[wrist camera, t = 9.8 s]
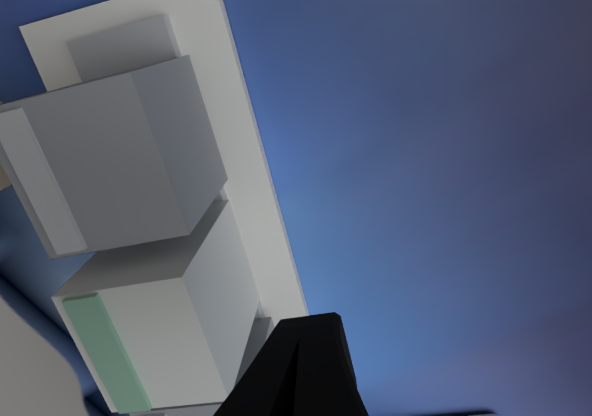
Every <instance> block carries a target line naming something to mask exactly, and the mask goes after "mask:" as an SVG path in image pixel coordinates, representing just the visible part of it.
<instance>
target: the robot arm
mask: <svg viewBox="0 0 592 416" xmlns="http://www.w3.org/2000/svg"><path fill="white" fill-rule="evenodd" d="M213 416H369V415H368V413H367V411H366V409H365V406H364V404H363V402H362V400H361V397H360V395H359V392H358V390H357V384H356V377H355V373H354V369H353V365H352V361H351V357H350V353H349V349H348V344H347V340H346V336H345V332H344V328H343V324H342V320H341V316H340V315H338V314H337V313H335V312H332V313H325V314H317V315H310V316H302V317H295V318H287V319H281V320H280V321H279V322H278V323H277V325H276V326H275V328H274V329H273V331H272V332H271V334H270V335H269V337H268V338H267V340H266V341H265V343H264V345H263V346H262V348H261V349H260V351H259V352H258V354H257V355H256V357H255V358H254V360H253V361H252V363H251V364H250V366H249V367H248V368H247V370H246V371H245V373H244V374H243V376H242V377H241V378H240V380H239V381H238V383H237V384H236V385H235V387H234V388H233V390H232V391H231V393H230V394H229V395H228V397H227V398H226V399H225V401H224V402H223V403H222V404H221V406H220V407H219V408H218V410H217V411H216V412H215V413H214V415H213ZM470 416H498V415H495V414H482V415H470Z"/></svg>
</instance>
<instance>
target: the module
mask: <svg viewBox="0 0 592 416" xmlns="http://www.w3.org/2000/svg"><path fill="white" fill-rule="evenodd" d="M51 298H52V300H53V302H54V304H55V306H56V308H57V310H58V312H59V313H60V315H61V317H62V319H63V321H64V323H65V325H66V327H67V329H68V331H69V332H70V334H71V336H72V338H73V340H74V342H75V344H76V346H77V348H78V350H79V351H80V353H81V355H82V357H83V359H84V361H85V363H86V365H87V367H88V369H89V371H90V372H91V374H92V376H93V378H94V380H95V382H96V384H97V386H98V388H99V390H100V391H101V393H102V395H103V397H104V399H105V401H106V403H107V405H108V407H109V409H110V410H111V412H118V413H119V414H123V413H133V412H143V411H150V410H151V408H162V407H172V406H182V405H192V404H203V403H213V402H223V401H225V399H226V398H227V397H228V395H229V394H230V393H231V391H232V390H233V388H234V384H235V381H236V378H237V374H238V371H239V368H240V364H241V361H242V357H243V354H244V351H245V347H246V344H247V341H248V337H249V334H250V331H251V327H252V324H253V321H254V317H255V314H256V311H257V307H258V304H259V301H260V295H259V292H258V289H257V285H256V282H255V279H254V276H253V273H252V270H251V266H250V263H249V260H248V257H247V254H246V251H245V247H244V244H243V241H242V238H241V235H240V231H239V228H238V225H237V222H236V219H235V216H234V212H233V209H232V206H231V203H230V200H223V201H218V202H213V203H211V205H210V206H209V207H208V209H207V210H206V212H205V213H204V215H203V216H202V218H201V219H200V220H199V222H198V223H197V225H196V226H195V228H194V229H193V231H192V232H191V233H190V235H186V236H180V237H175V238H169V239H163V240H158V241H152V242H146V243H141V244H135V245H129V246H124V247H118V248H112V249H106V250H101V251H98V252H97V253H96V254H95V255H94V256H93V257H92V258H91V259H90V260H89V261H88V262H87V263H86V264H85V265H84V266H83V267H82V268H81V269H80V270H79V271H77V272H76V273H75V274H74V275H73V276H72V277H71V278H70V279H69V280H68V281H67V282H66V283H65V284H64V285H63V286H62V287H61V288H60V289H59V290H58V291H57V292H56V293H55V294H54V295H53V296H52V297H51Z"/></svg>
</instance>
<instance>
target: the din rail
mask: <svg viewBox="0 0 592 416" xmlns="http://www.w3.org/2000/svg"><path fill="white" fill-rule="evenodd" d="M19 29H20V31H21V33H22V35H23V38H24V40H25V42H26V45H27V47H28V49H29V51H30V54H31V56H32V58H33V60H34V63H35V65H36V67H37V69H38V72H39V74H40V76H41V78H42V81H43V83H44V85H45V88H46V90H47V92H44V93H40V94H37V95H33V96H30V97H26V98H22V99H19V100H15V101H12V102H8V103H5V104H1V105H0V162H1V164H2V166H3V168H4V170H5V172H6V174H7V176H8V178H9V180H10V182H11V184H12V186H13V188H14V190H15V192H16V194H17V195H18V197H19V199H20V201H21V203H22V205H23V207H24V209H25V211H26V213H27V215H28V217H29V219H30V221H31V223H32V225H33V227H34V229H35V231H36V233H37V235H38V237H39V239H40V241H41V242H42V244H43V246H44V248H45V250H46V252H47V254H48V256H49V258H50V259H55V258H61V257H67V256H72V255H78V254H84V253H89V252H95V251H101V250H106V249H112V248H118V247H124V246H129V245H135V244H141V243H146V242H152V241H158V240H163V239H169V238H175V237H180V236H186V235H190V233H191V232H192V231H193V229H194V228H195V226H196V225H197V223H198V222H199V220H200V219H201V218H202V216H203V215H204V213H205V212H206V210H207V209H208V207H209V206H210V205H211V203H213V202H218V201H223V200H230V203H231V206H232V209H233V212H234V216H235V219H236V222H237V225H238V228H239V231H240V235H241V238H242V241H243V244H244V247H245V251H246V254H247V257H248V260H249V263H250V266H251V270H252V273H253V276H254V279H255V282H256V285H257V289H258V292H259V295H260V301H259V304H258V307H257V311H256V314H255V317H254V321H253V324H252V327H251V331H250V334H249V337H248V341H247V344H246V347H245V351H244V354H243V357H242V361H241V364H240V368H239V371H238V374H237V378H236V381H235V384H234V387H235V385H236V384H237V383H238V381H239V380H240V378H241V377H242V376H243V374H244V373H245V371H246V370H247V368H248V367H249V366H250V364H251V363H252V361H253V360H254V358H255V357H256V355H257V354H258V352H259V351H260V349H261V348H262V346H263V345H264V343H265V341H266V340H267V338H268V337H269V335H270V334H271V332H272V331H273V329H274V328H275V326H276V325H277V323H278V322H279V321H280V320H281V319H287V318H295V317H302V316H309V312H308V308H307V305H306V301H305V297H304V294H303V290H302V287H301V283H300V279H299V276H298V272H297V268H296V265H295V261H294V257H293V254H292V250H291V247H290V243H289V239H288V236H287V232H286V228H285V225H284V221H283V217H282V214H281V210H280V206H279V203H278V199H277V196H276V192H275V188H274V185H273V181H272V177H271V174H270V170H269V166H268V163H267V159H266V155H265V152H264V148H263V145H262V141H261V137H260V134H259V130H258V126H257V123H256V119H255V115H254V112H253V108H252V104H251V101H250V97H249V94H248V90H247V86H246V83H245V79H244V75H243V72H242V68H241V64H240V61H239V57H238V53H237V50H236V46H235V43H234V39H233V35H232V32H231V28H230V24H229V21H228V17H227V13H226V10H225V6H224V2H223V0H109V1H105V2H102V3H99V4H95V5H92V6H88V7H85V8H81V9H78V10H75V11H71V12H68V13H64V14H61V15H57V16H54V17H51V18H47V19H44V20H40V21H37V22H33V23H30V24H27V25H23V26H20V27H19ZM223 402H224V401H223ZM223 402H213V403H203V404H192V405H182V406H172V407H162V408H151V410H150V411H143V412H133V413H129V415H130V416H213V415H214V413H215V412H216V411H217V410H218V408H219V407H220V406H221V404H222V403H223Z"/></svg>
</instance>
